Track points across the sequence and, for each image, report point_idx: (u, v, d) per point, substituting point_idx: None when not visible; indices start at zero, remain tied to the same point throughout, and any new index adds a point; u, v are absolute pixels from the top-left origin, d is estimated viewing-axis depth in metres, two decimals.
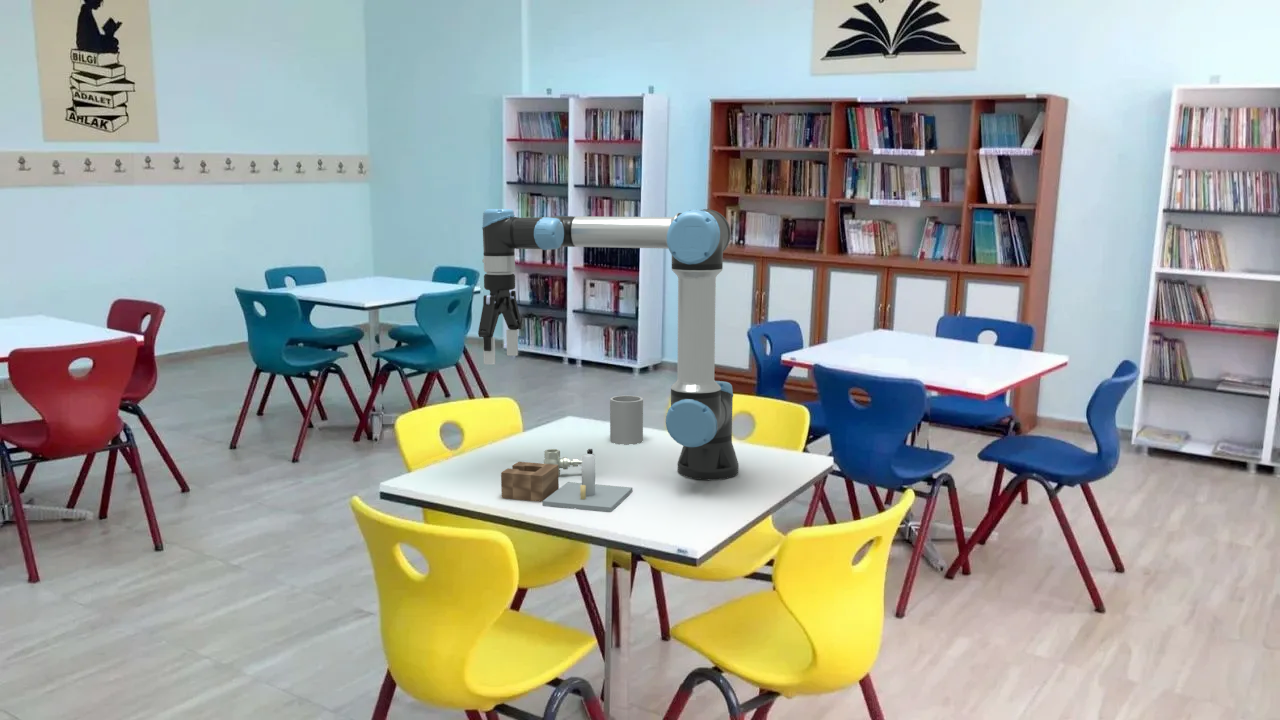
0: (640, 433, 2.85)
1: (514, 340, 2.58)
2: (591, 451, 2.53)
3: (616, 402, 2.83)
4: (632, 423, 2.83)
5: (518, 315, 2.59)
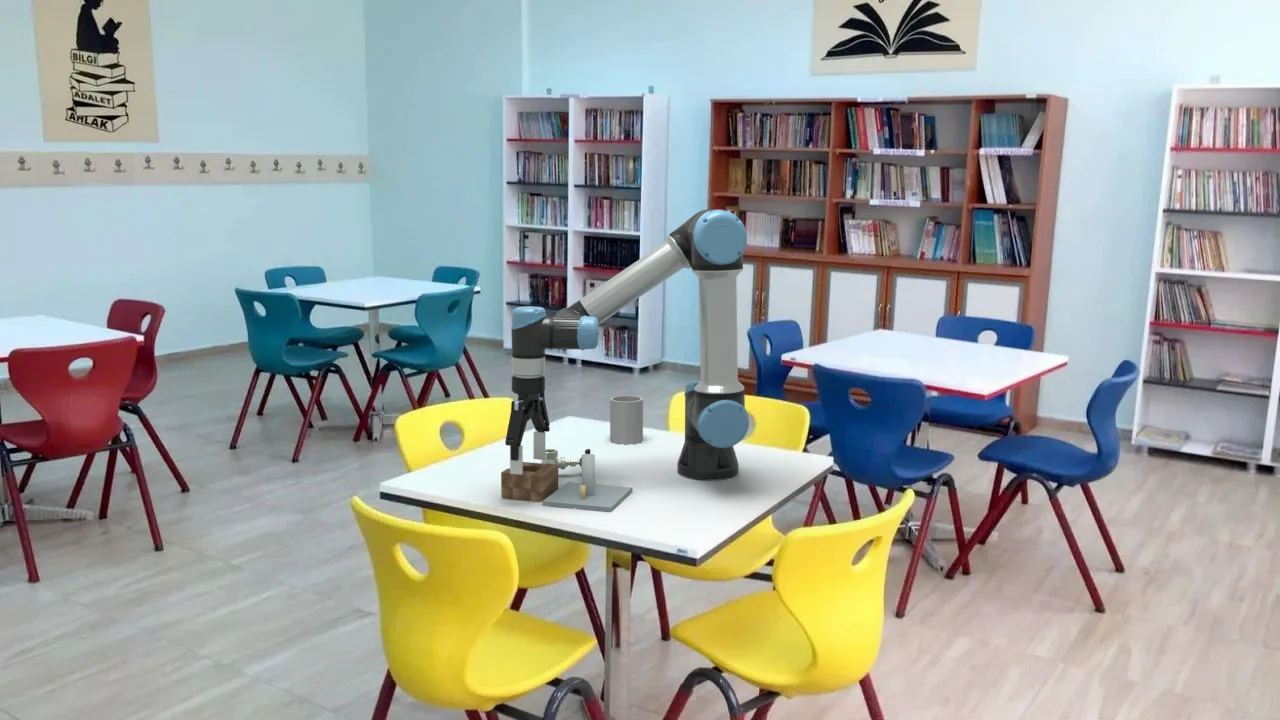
0: (640, 433, 2.85)
1: (542, 443, 2.42)
2: (589, 451, 2.53)
3: (616, 402, 2.83)
4: (632, 423, 2.83)
5: (546, 416, 2.43)
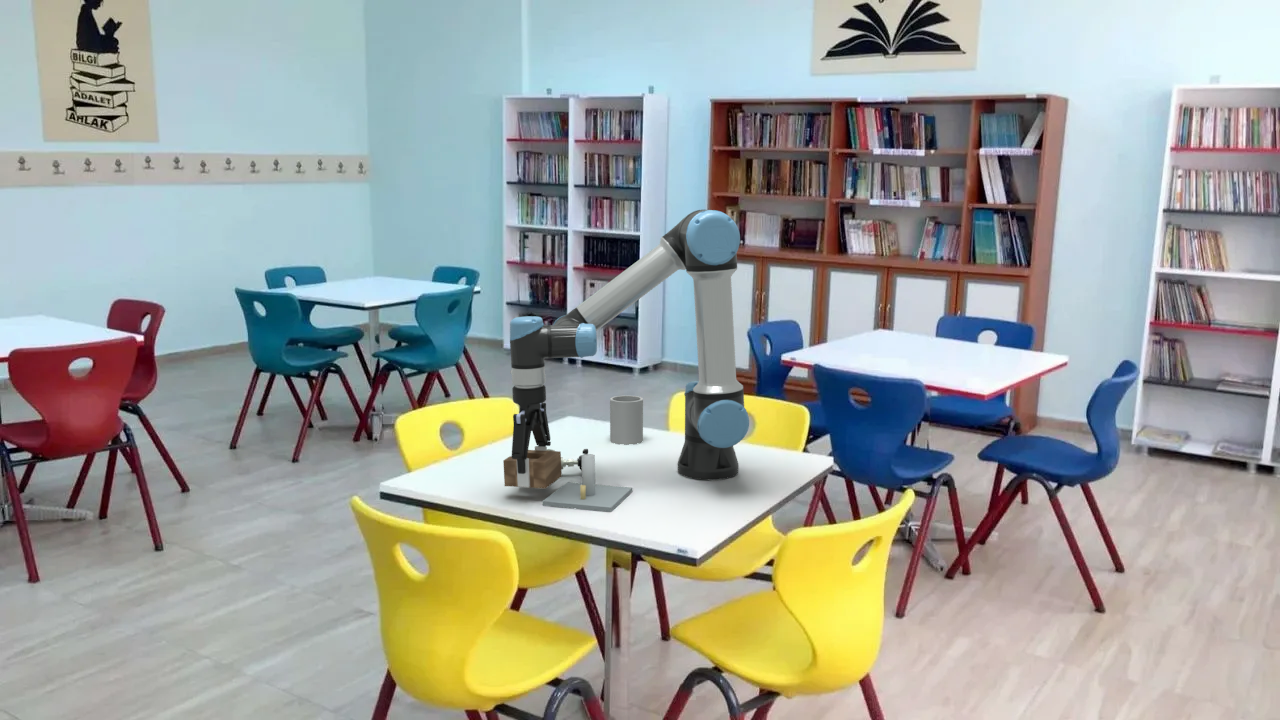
0: (640, 433, 2.85)
1: None
2: (586, 451, 2.53)
3: (616, 402, 2.83)
4: (632, 423, 2.83)
5: (547, 429, 2.42)
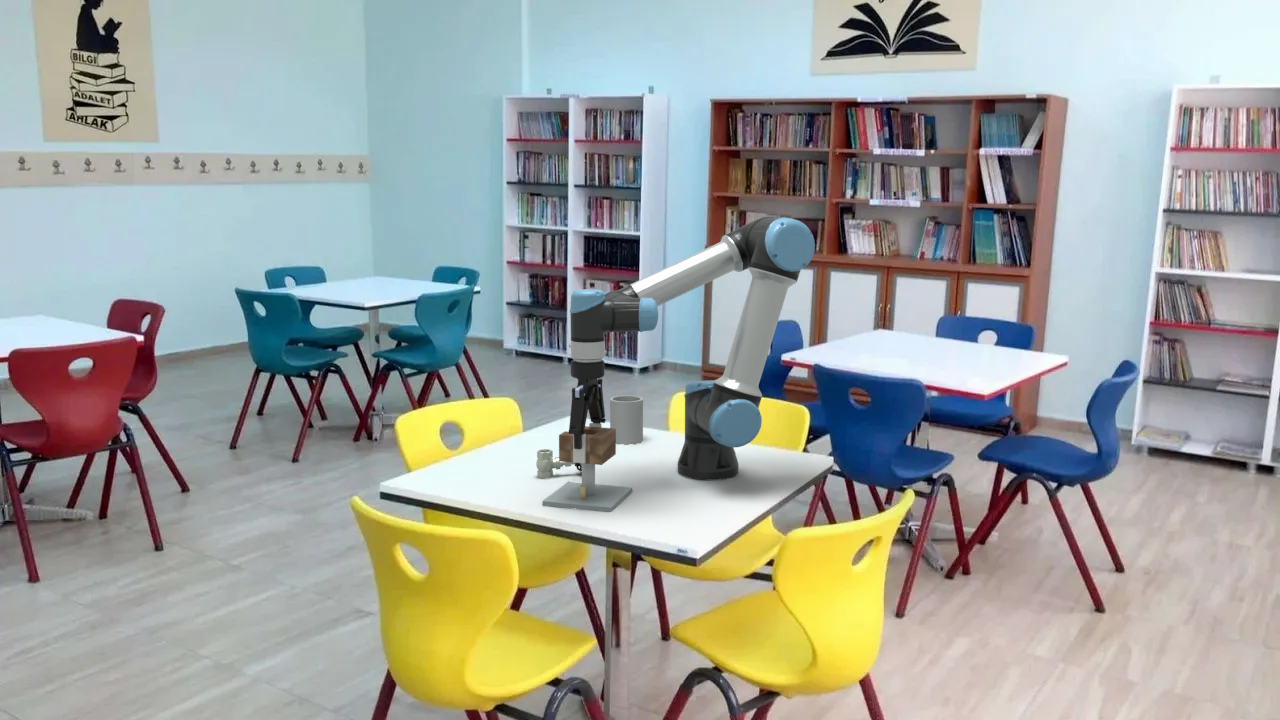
0: (640, 433, 2.85)
1: None
2: None
3: (616, 402, 2.83)
4: (632, 423, 2.83)
5: (602, 406, 2.38)
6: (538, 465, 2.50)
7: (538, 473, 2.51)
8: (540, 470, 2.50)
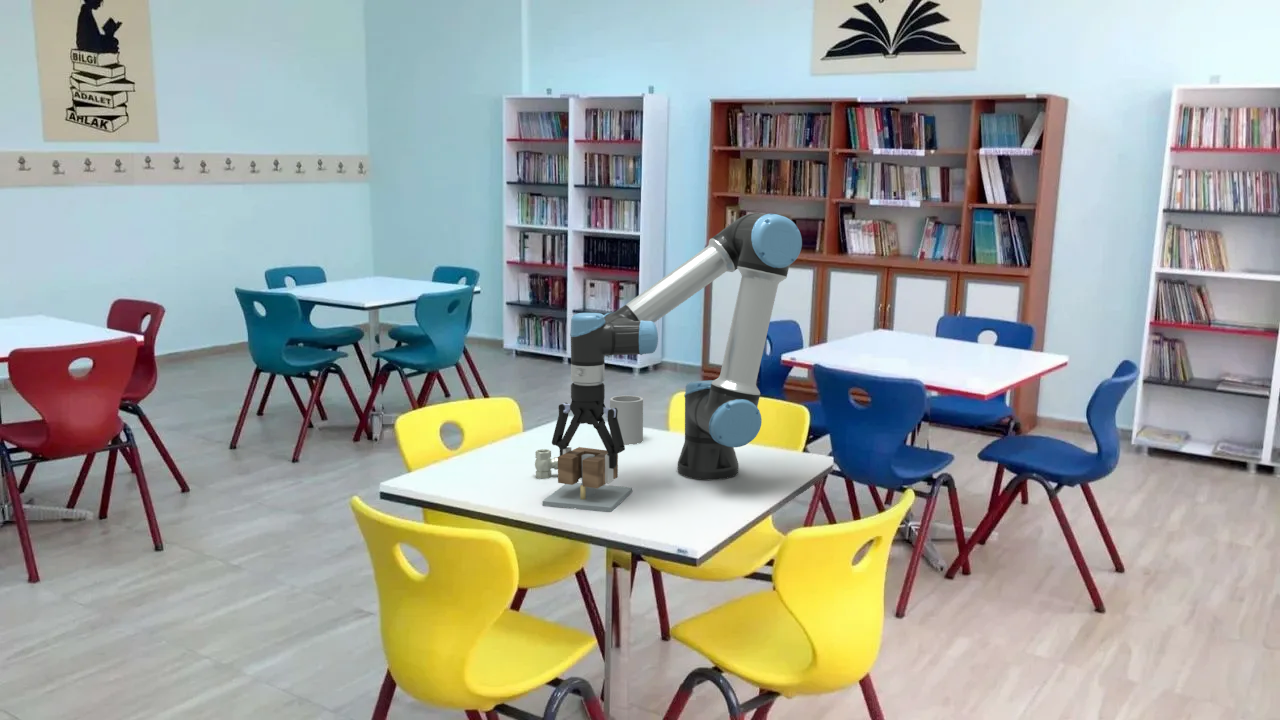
0: (640, 433, 2.85)
1: None
2: None
3: (616, 402, 2.83)
4: (632, 423, 2.83)
5: None
6: (536, 465, 2.50)
7: (536, 473, 2.51)
8: (538, 470, 2.50)
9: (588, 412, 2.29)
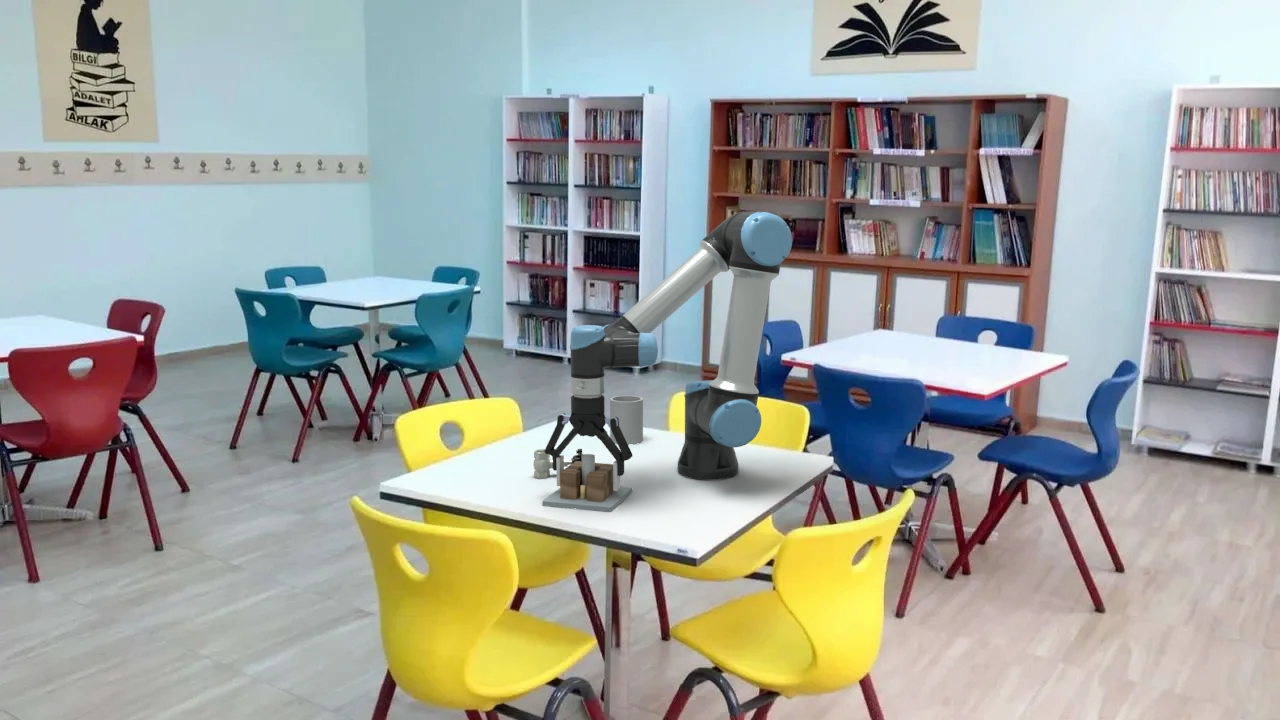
0: (640, 433, 2.85)
1: (563, 467, 2.36)
2: (581, 451, 2.53)
3: (616, 402, 2.83)
4: (632, 423, 2.83)
5: None
6: (535, 465, 2.50)
7: (535, 473, 2.51)
8: (537, 470, 2.50)
9: (590, 424, 2.29)
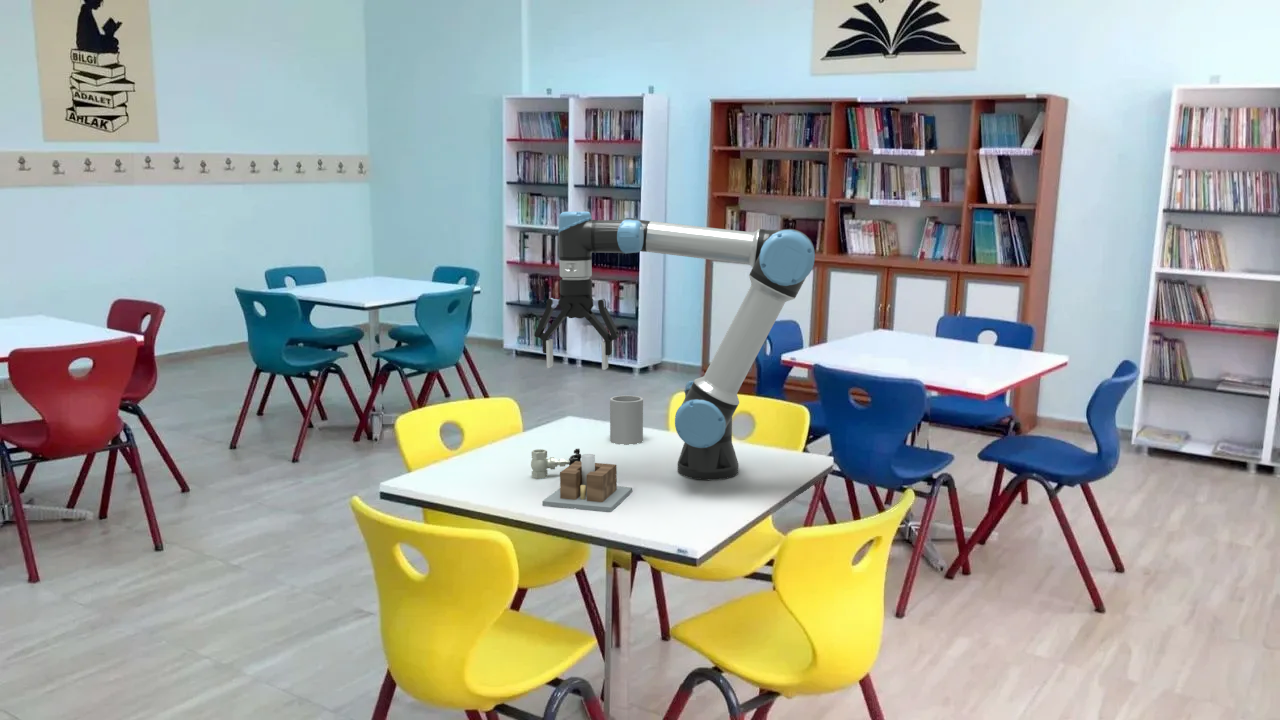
0: (640, 433, 2.85)
1: (552, 350, 2.46)
2: (578, 451, 2.53)
3: (616, 402, 2.83)
4: (632, 423, 2.83)
5: None
6: (533, 465, 2.50)
7: (533, 473, 2.51)
8: (535, 470, 2.50)
9: (578, 306, 2.39)
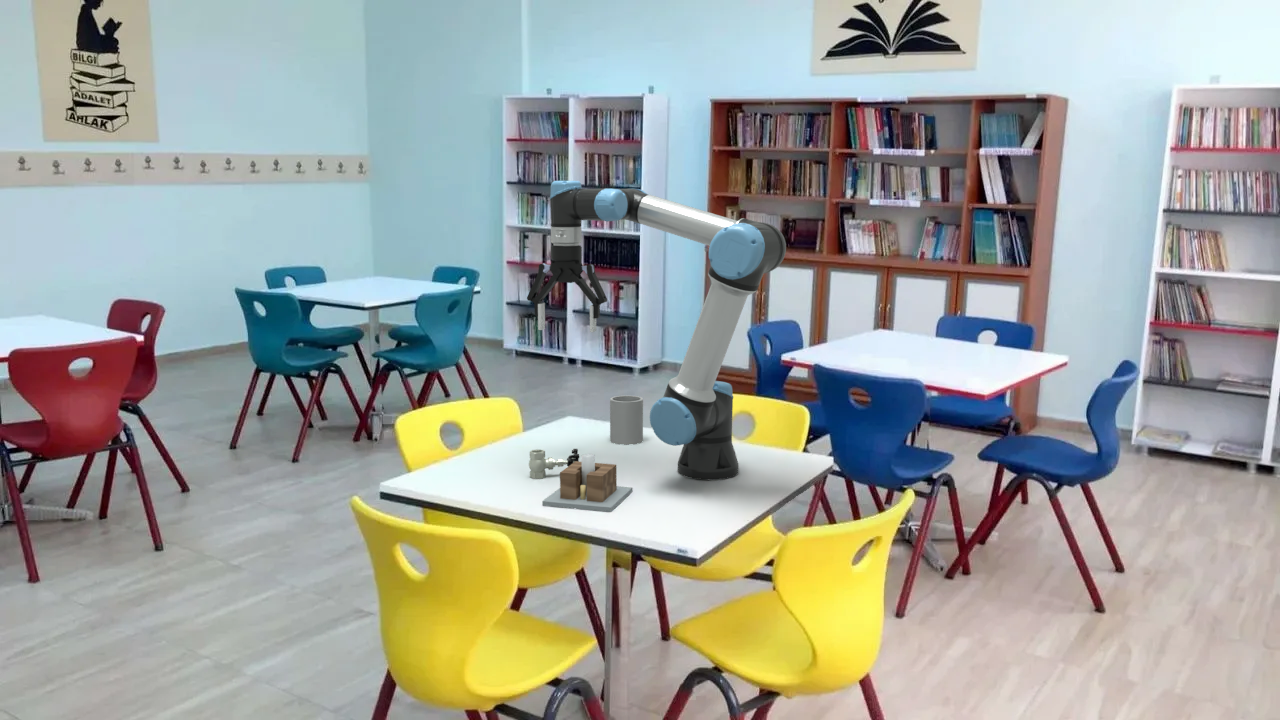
0: (640, 433, 2.85)
1: (544, 313, 2.58)
2: (576, 451, 2.53)
3: (616, 402, 2.83)
4: (632, 423, 2.83)
5: None
6: (531, 465, 2.50)
7: (531, 473, 2.51)
8: (533, 470, 2.50)
9: (568, 271, 2.51)
